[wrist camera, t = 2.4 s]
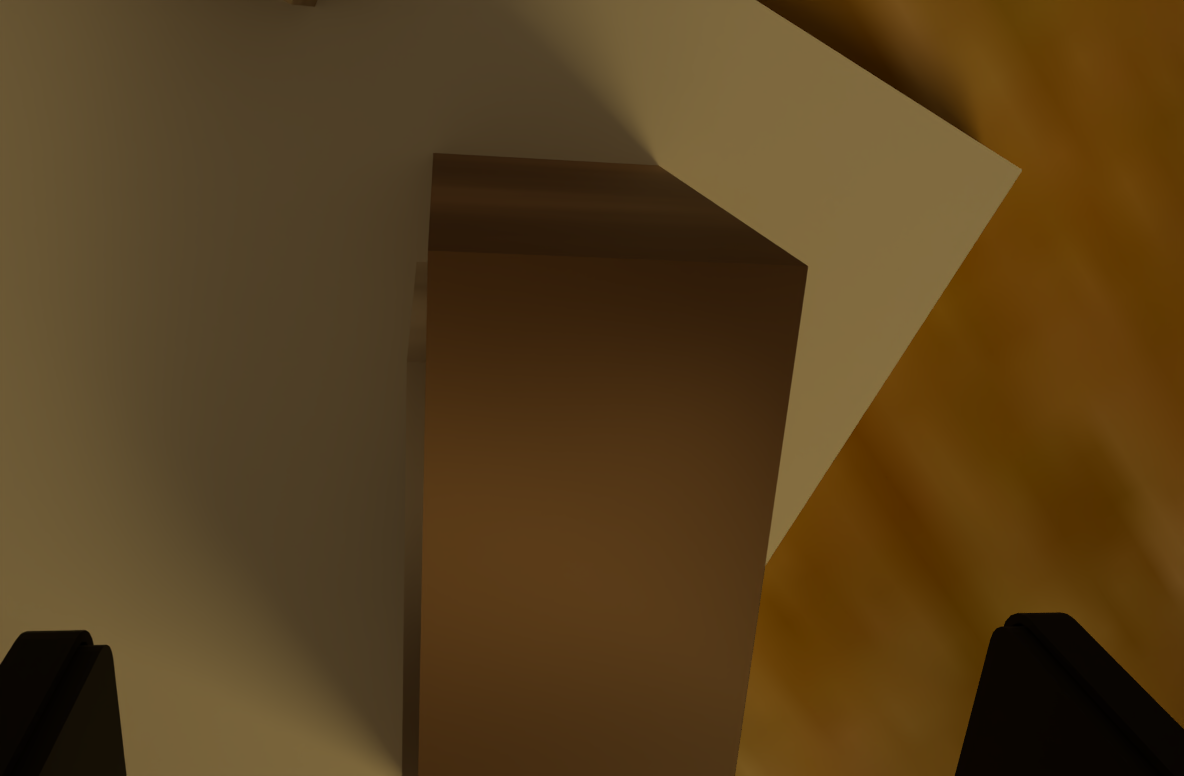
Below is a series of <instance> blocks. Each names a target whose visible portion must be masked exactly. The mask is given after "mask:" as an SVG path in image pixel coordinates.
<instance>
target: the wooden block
mask: <svg viewBox="0 0 1184 776" xmlns="http://www.w3.org/2000/svg"><path fill="white" fill-rule="evenodd" d="M807 272H808V266H807V265H806V264H804V263H803V262H801V261H800V260H798V259H797V258H795V257H794V256H792V255H791V254H790V253H788V252H787V251H785V250H784V249H782V248H781V247H779V246H778V245H776V244H775V243H773V242H772V241H770V240H769V239H767V238H766V237H764V236H763V235H761V234H760V233H758V232H757V231H755V230H754V229H752V228H751V227H749V226H748V225H746V224H745V223H743V222H742V221H740V220H739V219H738V218H736V217H735V216H733V215H732V214H730V213H729V212H727V211H726V210H724V209H723V208H721V207H720V206H718V205H717V204H715V203H714V202H712V201H711V200H709V199H708V198H706V197H705V196H703V195H702V194H700V193H699V192H697V191H696V190H694V189H693V188H691V187H690V186H688V185H687V184H686V183H684V182H683V181H681V180H680V179H678V178H677V177H675V176H674V175H672V174H671V173H669V172H668V171H666V170H665V169H663V168H662V167H660V166H659V165H642V164H624V163H606V162H588V161H570V160H552V159H534V158H516V157H498V156H480V155H462V154H444V153H433V166H432V184H431V202H430V220H429V238H428V262H417V263H416V273H415V284H414V294H413V304H412V314H411V324H410V334H409V344H408V355H407V384H406V468H405V551H404V635H403V719H402V776H735V771H736V764H737V757H738V750H739V743H740V737H741V730H742V723H743V716H744V709H745V702H746V695H747V688H748V681H749V674H750V667H751V660H752V653H753V646H754V640H755V633H756V626H757V619H758V612H759V605H760V598H761V591H762V584H763V577H764V570H765V563H766V556H767V549H768V543H769V536H770V529H771V522H772V515H773V508H774V501H775V494H776V487H777V480H778V473H779V466H780V459H781V452H782V445H783V439H784V432H785V425H786V418H787V411H788V404H789V397H790V390H791V383H792V376H793V369H794V362H795V355H796V348H797V342H798V335H799V328H800V321H801V314H802V307H803V300H804V293H805V286H806V279H807Z"/></svg>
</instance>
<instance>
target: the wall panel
mask: <svg viewBox="0 0 1184 776" xmlns="http://www.w3.org/2000/svg"><path fill="white" fill-rule="evenodd" d="M433 153H444V154H462V155H480V156H498V157H516V158H534V159H552V160H570V161H588V162H606V163H624V164H642V165H659V166H660V167H662V168H663V169H665V170H666V171H668V172H669V173H671V174H672V175H674V176H675V177H677V178H678V179H680V180H681V181H683V182H684V183H686V184H687V185H688V186H690V187H691V188H693V189H694V190H696V191H697V192H699V193H700V194H702V195H703V196H705V197H706V198H708V199H709V200H711V201H712V202H714V203H715V204H717V205H718V206H720V207H721V208H723V209H724V210H726V211H727V212H729V213H730V214H732V215H733V216H735V217H736V218H738V219H739V220H740V221H742V222H743V223H745V224H746V225H748V226H749V227H751V228H752V229H754V230H755V231H757V232H758V233H760V234H761V235H763V236H764V237H766V238H767V239H769V240H770V241H772V242H773V243H775V244H776V245H778V246H779V247H781V248H782V249H784V250H785V251H787V252H788V253H790V254H791V255H792V256H794V257H795V258H797V259H798V260H800V261H801V262H803V263H804V264H806V265H807V266H808V272H807V279H806V286H805V293H804V300H803V307H802V314H801V321H800V328H799V335H798V342H797V348H796V355H795V362H794V369H793V376H792V383H791V390H790V397H789V404H788V411H787V418H786V425H785V432H784V439H783V445H782V452H781V459H780V466H779V473H778V480H777V487H776V494H775V501H774V508H773V515H772V522H771V529H770V536H769V543H768V549H767V556H766V563H765V565H766V564H767V562H768V561H769V559H770V558H771V556H772V555H773V553H774V551H775V550H776V548H777V547H778V545H779V544H780V542H781V541H782V539H783V538H784V536H785V535H786V533H787V531H788V530H789V528H790V527H791V525H792V524H793V522H794V521H795V519H796V518H797V516H798V514H799V513H800V511H801V510H802V508H803V507H804V505H805V504H806V502H807V501H808V499H809V498H810V496H811V494H812V493H813V491H814V490H815V488H816V487H817V485H818V484H819V482H820V481H821V479H822V478H823V476H824V474H825V473H826V471H827V470H828V468H829V467H830V465H831V464H832V462H833V461H834V459H835V458H836V456H837V454H838V453H839V451H840V450H841V448H842V447H843V445H844V444H845V442H846V441H847V439H848V438H849V436H850V434H851V433H852V431H853V430H854V428H855V427H856V425H857V424H858V422H859V421H860V419H861V418H862V416H863V414H864V413H865V411H866V410H867V408H868V407H869V405H870V404H871V402H872V401H873V399H874V398H875V396H876V394H877V393H878V391H879V390H880V388H881V387H882V385H883V384H884V382H885V381H886V379H887V378H888V376H889V374H890V373H891V371H892V370H893V368H894V367H895V365H896V364H897V362H898V361H899V359H900V358H901V356H902V354H903V353H904V351H905V350H906V348H907V347H908V345H909V344H910V342H911V341H912V339H913V337H914V336H915V334H916V333H917V331H918V330H919V328H920V327H921V325H922V324H923V322H924V321H925V319H926V317H927V316H928V314H929V313H930V311H931V310H932V308H933V307H934V305H935V304H936V302H937V301H938V299H939V297H940V296H941V294H942V293H943V291H944V290H945V288H946V287H947V285H948V284H949V282H950V281H951V279H952V277H953V276H954V274H955V273H956V271H957V270H958V268H959V267H960V265H961V264H962V262H963V261H964V259H965V257H966V256H967V254H968V253H969V251H970V250H971V248H972V247H973V245H974V244H975V242H976V241H977V239H978V237H979V236H980V234H981V233H982V231H983V230H984V228H985V227H986V225H987V224H988V222H989V221H990V219H991V217H992V216H993V214H994V213H995V211H996V210H997V208H998V207H999V205H1000V204H1001V202H1002V201H1003V199H1004V197H1005V196H1006V194H1007V193H1008V191H1009V190H1010V188H1011V187H1012V185H1013V184H1014V182H1015V181H1016V179H1017V177H1018V176H1019V174H1020V173H1021V171H1022V169H1020V168H1018V167H1017V166H1015V165H1014V164H1012V163H1011V162H1009V161H1007V160H1006V159H1004V158H1003V157H1001V156H1000V155H998V154H996V153H995V152H993V151H992V150H990V149H989V148H987V147H985V146H984V145H982V144H981V143H979V142H978V141H976V140H974V139H973V138H971V137H970V136H968V135H967V134H965V133H963V132H962V131H960V130H959V129H957V128H956V127H954V126H952V125H951V124H949V123H948V122H946V121H945V120H943V119H942V118H940V117H938V116H937V115H935V114H934V113H932V112H931V111H929V110H927V109H926V108H924V107H923V106H921V105H920V104H918V103H916V102H915V101H913V100H912V99H910V98H909V97H907V96H905V95H904V94H902V93H901V92H899V91H898V90H896V89H894V88H893V87H891V86H890V85H888V84H887V83H885V82H883V81H882V80H880V79H879V78H877V77H876V76H874V75H872V74H871V73H869V72H868V71H866V70H865V69H863V68H862V67H860V66H858V65H857V64H855V63H854V62H852V61H851V60H849V59H847V58H846V57H844V56H843V55H841V54H840V53H838V52H836V51H835V50H833V49H832V48H830V47H829V46H827V45H825V44H824V43H822V42H821V41H819V40H818V39H816V38H814V37H813V36H811V35H810V34H808V33H807V32H805V31H803V30H802V29H800V28H799V27H797V26H796V25H794V24H792V23H791V22H789V21H788V20H786V19H785V18H783V17H782V16H780V15H778V14H777V13H775V12H774V11H772V10H771V9H769V8H767V7H766V6H764V5H763V4H761V3H760V2H758V1H756V0H318V1H317V3H316V5H315V7H313V6H302V5H292V4H289V3H287V2H286V1H284V0H0V664H1V662H2V661H3V659H4V658H5V656H6V655H7V653H8V651H9V650H10V648H11V647H12V645H13V643H14V642H15V640H16V639H17V638H18V637H19V635H20V634H21V633H23V632H26V631H58V630H86V631H88V632H89V633H90V635H91V637H92V639H93V644H94V645H108V646H110V648H111V650H112V654H113V660H114V668H115V677H116V686H117V695H118V704H119V712H120V721H121V730H122V739H123V748H124V756H125V765H126V774H127V776H402V719H403V635H404V551H405V468H406V384H407V355H408V344H409V334H410V324H411V314H412V304H413V294H414V284H415V273H416V263H417V262H428V238H429V220H430V202H431V184H432V166H433Z"/></svg>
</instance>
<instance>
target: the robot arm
mask: <svg viewBox="0 0 1184 776" xmlns="http://www.w3.org/2000/svg"><path fill="white" fill-rule="evenodd" d="M0 776H127V774H126V765H125V756H124V748H123V739H122V730H121V721H120V712H119V704H118V695H117V686H116V677H115V668H114V660H113V654H112V650H111V648H110V646H108V645H94V644H93V639H92V637H91V635H90V633H89V632H88V631H86V630H58V631H26V632H23V633H21V634H20V635H19V637H18V638H17V639H16V640H15V642H14V643H13V645H12V647H11V648H10V650H9V651H8V653H7V655H6V656H5V658H4V659H3V661H2V662H1V664H0ZM955 776H1184V729H1183V728H1182V727H1181V726H1180V725H1179V724H1178V723H1177V722H1176V721H1175V720H1174V719H1173V718H1172V717H1171V716H1170V715H1169V714H1168V713H1167V712H1166V711H1165V710H1164V709H1163V708H1162V707H1161V706H1160V705H1159V704H1158V703H1157V702H1156V701H1155V700H1154V699H1153V698H1152V697H1151V696H1150V695H1149V694H1148V693H1147V692H1146V691H1145V690H1144V689H1143V688H1142V687H1141V686H1140V685H1139V684H1138V683H1137V682H1136V681H1135V680H1134V679H1133V678H1132V677H1131V676H1130V675H1129V674H1128V673H1127V672H1126V671H1125V670H1124V669H1123V668H1122V667H1121V666H1120V665H1119V664H1118V663H1117V662H1116V661H1115V660H1114V659H1113V658H1112V657H1111V656H1110V655H1109V654H1108V653H1107V652H1106V651H1105V650H1104V649H1103V648H1102V647H1101V646H1100V645H1099V644H1098V642H1097V641H1096V640H1095V639H1094V638H1093V637H1092V636H1091V635H1090V634H1089V633H1088V632H1087V631H1086V630H1085V629H1084V628H1083V627H1082V626H1081V625H1080V624H1079V623H1078V622H1077V621H1076V620H1075V619H1073V618H1072V617H1071V616H1069V615H1068V614H1065V613H1016V614H1014V615H1011V616H1010V617H1009V618H1008V619H1007V620H1006V622H1005V624H1004V627H999V628H997V629H996V630H995V631H994V632H993V634H992V637H991V639H990V643H989V647H988V651H987V655H986V658H985V662H984V666H983V670H982V674H981V678H980V681H979V685H978V689H977V693H976V697H975V701H974V704H973V708H972V712H971V716H970V720H969V724H968V727H967V731H966V735H965V739H964V743H963V747H962V750H961V754H960V758H959V762H958V766H957V770H956V773H955Z"/></svg>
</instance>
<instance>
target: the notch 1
mask: <svg viewBox="0 0 1184 776" xmlns="http://www.w3.org/2000/svg"><path fill="white" fill-rule="evenodd" d="M284 1H286V2H287V3H289V4H292V5H302V6H313V7H315V5H316V3H317V1H318V0H284Z"/></svg>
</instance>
